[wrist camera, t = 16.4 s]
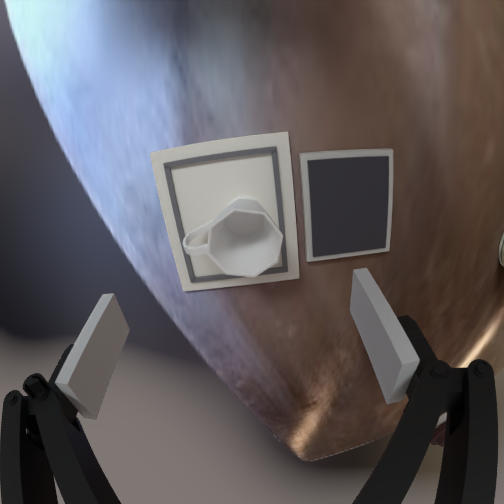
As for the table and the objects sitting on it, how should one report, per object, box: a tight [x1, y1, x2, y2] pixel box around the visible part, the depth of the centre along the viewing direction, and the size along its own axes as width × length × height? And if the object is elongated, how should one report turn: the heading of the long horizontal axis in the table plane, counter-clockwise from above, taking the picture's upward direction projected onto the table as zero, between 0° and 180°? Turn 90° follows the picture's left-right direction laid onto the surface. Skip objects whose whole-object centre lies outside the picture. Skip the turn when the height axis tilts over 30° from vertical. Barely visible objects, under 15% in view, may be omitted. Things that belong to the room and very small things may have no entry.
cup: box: [183, 196, 283, 278], centre depth 30 cm, size 7×10×8 cm
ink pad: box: [299, 148, 393, 262], centre depth 34 cm, size 13×11×1 cm
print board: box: [150, 132, 299, 291], centre depth 34 cm, size 18×15×1 cm
